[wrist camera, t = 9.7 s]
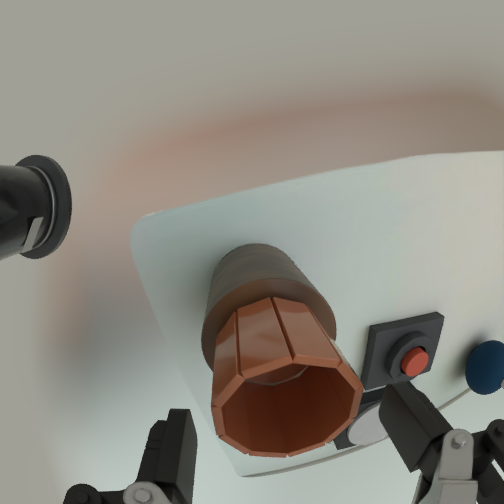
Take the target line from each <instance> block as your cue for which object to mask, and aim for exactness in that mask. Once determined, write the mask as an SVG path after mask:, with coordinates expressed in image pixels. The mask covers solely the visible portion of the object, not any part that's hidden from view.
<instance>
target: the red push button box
mask: <svg viewBox="0 0 504 504" xmlns="http://www.w3.org/2000/svg"><path fill="white" fill-rule="evenodd" d="M443 322H444V316H443V315H441V314H440V313H438V312H434V313H430V314H426V315H421V316H417V317H412V318H408V319H403V320H398V321H393V322H388V323H383V324H377V325H372V326H370V331H369V338H368V344H367V350H366V356H365V361H364V367H363V372H362V377H361V382H362V384H363V388H364V389H365V390H369V389H373V388H376V387H380V386H384V385H387V384H391V383H394V382H398V381H402V380H403V381H405V382H406V381H409V380H412V379H414V378H415V377H416V376H418V375H420V374H423V373H426V372H428V371H430V369H431V366H432V363H433V359H434V356H435V353H436V349H437V346H438V342H439V338H440V334H441V330H442V326H443ZM415 347H419V348H421V349H422V350H424V351H425V352H426V353H427V354H428V363H427V365H426V367H425V368H424V369H423V370H422V371H421V372H420V373H419V374H417V375H415V376H408V375H407V374H406V373H405V372H404V371H403V370H402V369H401V361H402V359H403V357H404V356H405V354H406V353H407V352H408V351H410V350H411V349H412V348H415Z"/></svg>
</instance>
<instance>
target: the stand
mask: <svg viewBox="0 0 504 504" xmlns="http://www.w3.org/2000/svg"><path fill="white" fill-rule="evenodd" d="M268 297H270V299H271V302H272V299H273V297H277V298H281V299H286V300H290V301H295V302H299V303H304V304H305V305H306V306H309V308H310V309H311V310H312V311H313V313H314V314H315V315H316V316H317V318H318V319H319V320H320V321H321V323H322V324H323V325H324V326H325V328H326V329H327V331H328V332H329V334H330V335H331V337H332V338H333V340H334V341H335V340H336V321H335V317H334V314H333V312H332V309H331V307H330V306H329V304H328V303H327V301H326V300H325V299H324V297H323V296H322V295H321V294H320V293H319V292H318V290H317V289H316V288H315V287H314V286H313V284H312V283H311V282H310V281H309V280H308V279H307V277H306V276H305V275H304V274H303V273H302V272H301V270H300V269H299V268H298V267H297V266H296V265H295V263H294V262H293V261H292V260H291V259H290V258H289V257H288V256H287V255H286V254H285V253H284V252H283V251H281V250H279V249H278V248H275V247H273V246H270V245H266V244H248V245H244V246H241V247H239V248H236V249H234V250H233V251H231V252H230V253H228V254H227V255H226V256H225V257H224V258H223V259H222V260H221V261H220V263H219V264H218V266H217V268H216V270H215V272H214V275H213V279H212V283H211V288H210V293H209V298H208V303H207V308H206V313H205V318H204V323H203V329H202V336H201V345H202V351H203V355H204V358H205V360H206V362H207V364H208V366H209V367H210V369H211V370H212V371H213V370H214V358H215V346H216V339H217V335H218V334H219V332H220V331H221V329H222V328H223V327H224V325H225V324H226V322H227V321H228V319H229V318H230V317H231V315H232V314H233V312H234V311H235V312H237V309H239V308H241V307H244V306H247V305H250V304H252V303H255V302H258V301H260V300H263V299H266V298H268ZM308 366H309V365H308ZM308 366H307V367H308ZM307 367H306V368H307ZM306 368H305V369H306ZM305 369H304V370H305ZM304 370H303V371H302V372H300V373H299V374H298V375H296V376H294V377H292V378H290V379H288V380H291V379H293V378H296V377H299V376H300V375H301V374H302V373H303V372H304ZM288 380H285V381H288ZM285 381H282V382H285ZM245 382H251V383H256V382H252V381H249V380H247V379H245ZM282 382H278V383H271V384H263V383H257V384H263V385H271V386H273V385H276V384H279V383H282Z"/></svg>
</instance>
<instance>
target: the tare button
mask: <svg viewBox="0 0 504 504" xmlns="http://www.w3.org/2000/svg"><path fill="white" fill-rule="evenodd" d="M427 363H428V354H427V353H426V352H425V351H424V350H422V349H421V348H419V347H415V348H412V349H411V350H410V351H408V352H407V353H406V354H405V356H404V357H403V359H402V361H401V369H402V370H403V371H404V372H405V373H406V374H407V375H408V376H415V375H417V374H419V373H420V372H421V371H422V370H423V369H424V368H425V367H426V365H427Z"/></svg>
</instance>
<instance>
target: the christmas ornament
mask: <svg viewBox="0 0 504 504" xmlns="http://www.w3.org/2000/svg"><path fill="white" fill-rule="evenodd" d="M465 376H466V381H467V384H468V386H469V387H470V388H471V389H472V390H473V391H474V392H476V393H478V394H482V395H486V394H491V393H493V392H495V391H497V390H498V389H500V388H501V387H502V388H503V389H504V344H503V343H502V342H500V341H496V340H491V341H487V342H484V343H482V344H480V345H479V346H478V347H477V348H476V349H475V350H474V351H473V352H472V353H471V355H470V357H469V359H468V361H467V364H466V370H465Z"/></svg>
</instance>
